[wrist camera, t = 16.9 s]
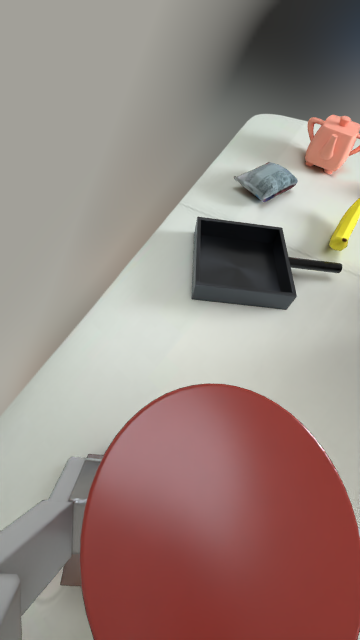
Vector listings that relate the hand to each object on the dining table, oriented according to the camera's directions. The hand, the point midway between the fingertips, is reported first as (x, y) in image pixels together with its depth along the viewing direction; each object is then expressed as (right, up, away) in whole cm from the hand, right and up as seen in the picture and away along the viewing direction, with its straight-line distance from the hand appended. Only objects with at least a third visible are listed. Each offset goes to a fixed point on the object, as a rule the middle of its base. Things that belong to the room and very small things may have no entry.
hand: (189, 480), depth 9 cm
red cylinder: (-1, -4, +5) cm, 6 cm away
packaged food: (+18, +34, +50) cm, 63 cm away
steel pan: (+14, +14, +37) cm, 42 cm away
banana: (+31, +21, +44) cm, 58 cm away
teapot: (+35, +45, +59) cm, 82 cm away
